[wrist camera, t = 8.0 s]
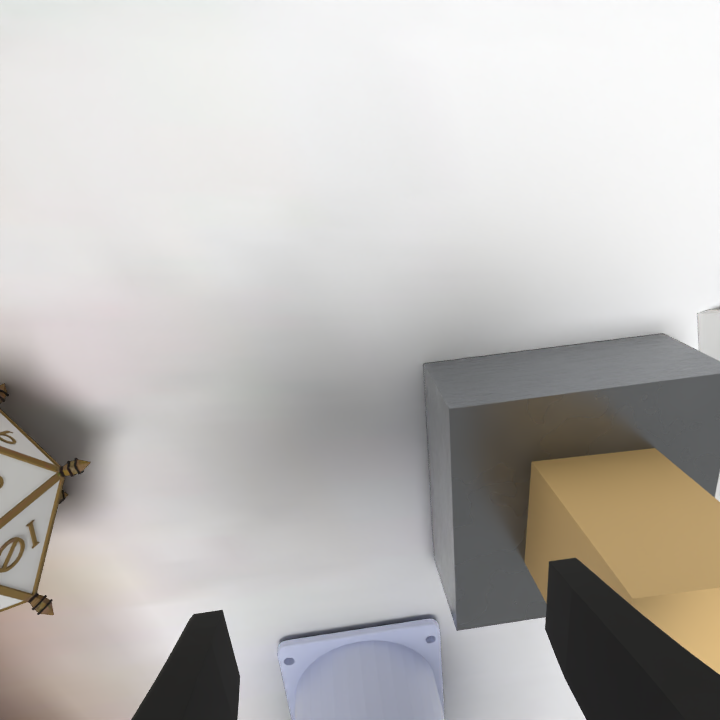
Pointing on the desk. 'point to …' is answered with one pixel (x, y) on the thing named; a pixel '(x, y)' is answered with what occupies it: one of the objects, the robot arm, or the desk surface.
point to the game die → (27, 512)
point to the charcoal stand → (549, 448)
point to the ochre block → (633, 538)
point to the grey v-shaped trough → (710, 345)
